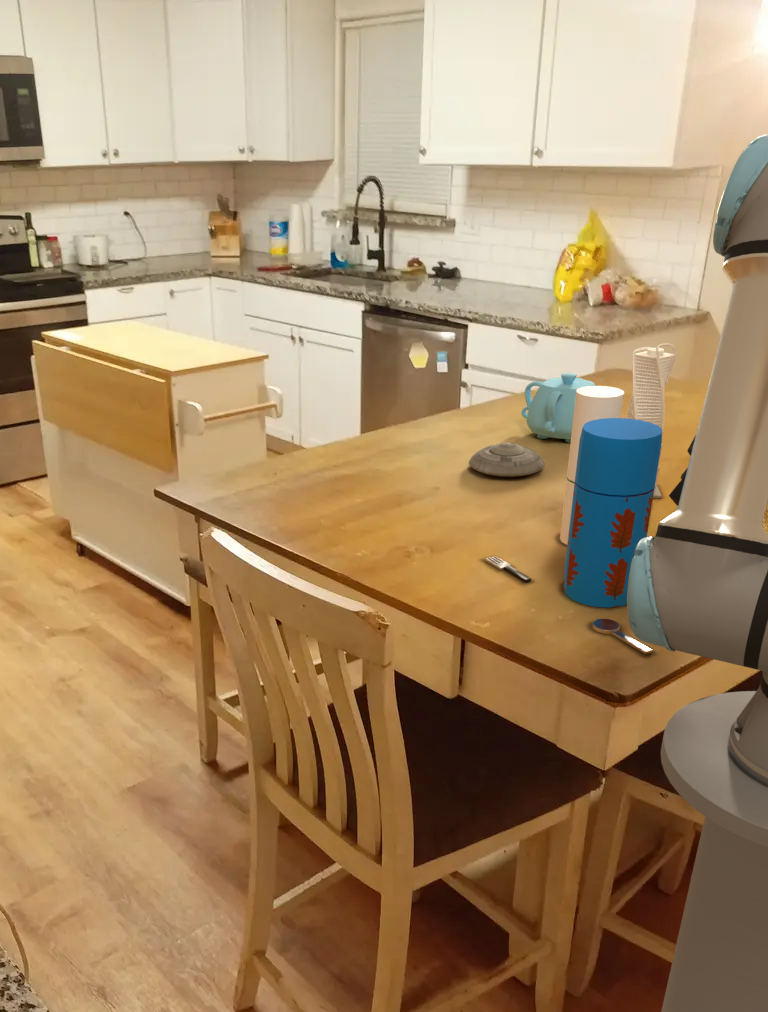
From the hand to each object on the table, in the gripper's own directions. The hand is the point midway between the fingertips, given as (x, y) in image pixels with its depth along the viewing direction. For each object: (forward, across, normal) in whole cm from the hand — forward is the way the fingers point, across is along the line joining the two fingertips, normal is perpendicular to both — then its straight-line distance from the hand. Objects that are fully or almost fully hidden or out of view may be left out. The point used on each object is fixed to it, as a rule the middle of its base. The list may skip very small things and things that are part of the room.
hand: (676, 501), depth 141 cm
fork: (+22, +13, +6) cm, 26 cm away
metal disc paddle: (+22, -13, +6) cm, 26 cm away
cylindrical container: (+10, +17, -7) cm, 21 cm away
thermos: (+18, 0, 0) cm, 18 cm away
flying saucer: (+2, +53, -15) cm, 55 cm away
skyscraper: (-7, +30, -24) cm, 39 cm away
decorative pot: (-15, +66, -33) cm, 75 cm away
